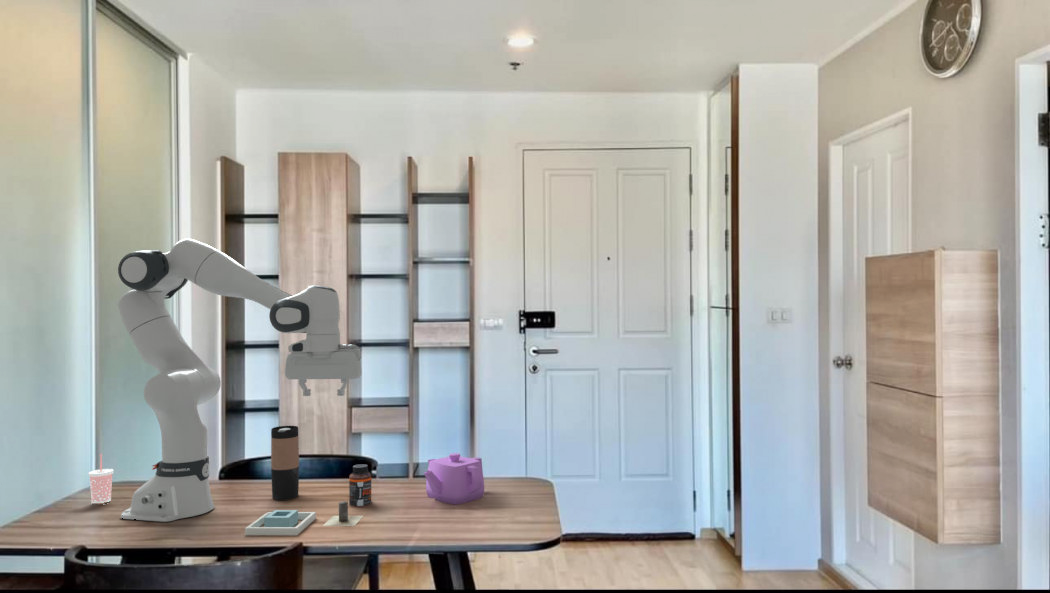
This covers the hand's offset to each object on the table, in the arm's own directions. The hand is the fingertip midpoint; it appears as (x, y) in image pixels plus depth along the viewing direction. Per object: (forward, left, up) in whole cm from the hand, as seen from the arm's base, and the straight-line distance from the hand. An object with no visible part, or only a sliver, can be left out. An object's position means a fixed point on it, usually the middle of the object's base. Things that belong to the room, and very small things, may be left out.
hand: (323, 395), depth 184 cm
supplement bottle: (+9, +3, -31) cm, 32 cm away
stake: (+9, -12, -31) cm, 35 cm away
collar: (-5, -17, -30) cm, 35 cm away
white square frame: (-5, -17, -31) cm, 36 cm away
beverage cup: (-67, +7, -31) cm, 74 cm away
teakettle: (+33, +13, -31) cm, 47 cm away
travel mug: (-16, +13, -31) cm, 37 cm away
